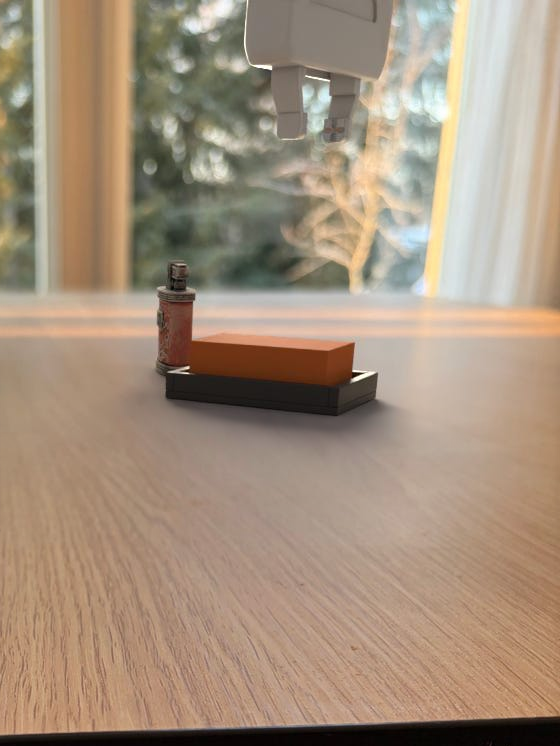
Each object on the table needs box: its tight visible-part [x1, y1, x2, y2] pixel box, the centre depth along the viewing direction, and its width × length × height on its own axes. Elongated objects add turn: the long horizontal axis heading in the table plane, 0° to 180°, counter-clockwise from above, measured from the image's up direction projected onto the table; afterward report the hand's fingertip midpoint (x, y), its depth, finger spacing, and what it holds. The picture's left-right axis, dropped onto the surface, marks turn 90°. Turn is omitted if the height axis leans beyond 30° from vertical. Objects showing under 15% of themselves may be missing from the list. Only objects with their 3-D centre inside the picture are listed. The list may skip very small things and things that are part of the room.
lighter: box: [155, 260, 197, 376], centre depth 100 cm, size 8×3×10 cm, turn 4°
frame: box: [164, 366, 379, 416], centre depth 88 cm, size 15×9×2 cm, turn 57°
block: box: [189, 332, 356, 386], centre depth 87 cm, size 12×6×4 cm, turn 57°
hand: (314, 141), depth 82 cm, fingers open, 8 cm apart
